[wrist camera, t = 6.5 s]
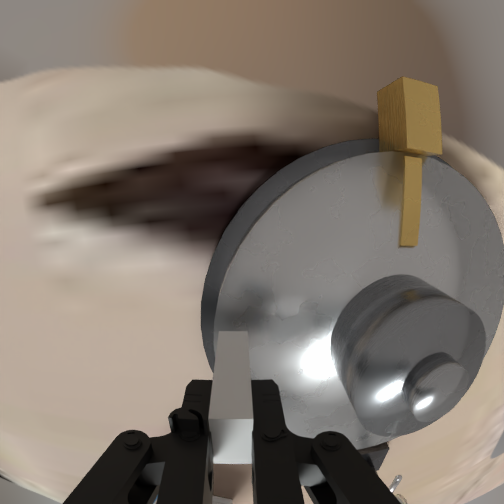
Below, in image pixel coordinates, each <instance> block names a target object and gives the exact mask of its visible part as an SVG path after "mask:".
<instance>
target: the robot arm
mask: <svg viewBox="0 0 504 504" xmlns="http://www.w3.org/2000/svg"><path fill="white" fill-rule="evenodd" d="M168 419H169V424H170V428H171V433H169V434H167V435H164V436H160V437H152V438H149V437H148V436H147V434H145V433H143V432H141V431H138V430H127V431H125V432H122V433H121V434H119V435H118V436H117V437H116V438H115V440H114V441H113V442H112V443H111V445H110V446H109V447H108V448H107V450H106V451H105V452H104V453H103V454H102V456H101V457H100V458H99V459H98V461H97V462H96V463H95V464H94V466H93V467H92V468H91V469H90V471H89V472H88V473H87V474H86V476H85V477H84V478H83V479H82V481H81V482H80V483H79V484H78V485H77V487H76V488H75V489H74V490H73V492H72V493H71V494H70V495H69V497H68V498H67V499H66V500H65V501H64V503H63V504H153V502H154V501H155V499H156V497H157V495H158V497H157V502H156V504H212V497H213V479H214V473H213V462H214V464H252V484H253V502H254V504H304V499H303V494H302V489H301V485H304V487H305V489H306V491H307V493H308V495H309V496H310V498H311V500H312V502H313V503H314V504H401V503H400V502H399V500H398V499H397V498H396V497H395V496H394V495H393V493H392V492H391V491H390V490H389V489H388V487H387V486H386V485H385V484H384V483H383V481H382V480H381V479H380V478H379V476H378V475H377V474H376V473H375V472H374V470H373V469H372V468H371V467H370V465H369V464H368V463H367V462H366V461H365V459H364V458H363V457H362V456H361V454H360V453H359V452H358V451H357V449H356V448H355V447H354V446H353V444H352V443H351V442H350V440H349V439H348V438H347V437H346V436H345V435H343V434H342V433H339V432H336V431H325V432H322V433H320V434H318V435H316V437H315V438H307V437H302V436H298V435H296V434H294V433H292V432H291V431H290V430H289V429H288V428H287V426H286V423H285V418H284V413H283V407H282V402H281V397H280V392H279V387H278V385H277V384H276V383H275V382H274V381H273V379H265V380H251V375H250V360H249V344H248V331H219V334H218V341H217V349H216V357H215V366H214V374H213V380H192V381H191V382H190V383H189V384H188V385H187V387H186V391H185V395H184V400H183V404H182V407H181V408H178V409H175V410H174V411H173V412H171V413H170V415H169V417H168Z"/></svg>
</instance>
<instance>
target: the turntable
mask: <svg viewBox="0 0 504 504" xmlns="http://www.w3.org/2000/svg"><path fill="white" fill-rule="evenodd" d="M377 99H378V118H379V152H378V153H368V154H363V155H359V156H354V157H350V158H347V159H343V160H339V161H336V162H332V163H330V164H328V165H326V166H323V167H321V168H319V169H317V170H314V171H312V172H310V173H309V174H307V175H305V176H304V177H302V178H301V179H299V180H298V181H296V182H294V183H293V184H291V185H290V186H289V187H287V188H286V189H285V190H284V191H283V192H281V193H280V194H279V195H278V196H277V197H276V198H274V199H273V200H272V201H271V202H270V203H269V204H268V205H267V206H266V207H265V209H264V210H263V211H262V212H261V213H260V214H259V215H258V216H257V217H256V218H255V220H254V221H253V222H252V224H251V225H250V227H249V228H248V230H247V231H246V232H245V234H244V235H243V237H242V238H241V240H240V241H239V243H238V245H237V247H236V249H235V251H234V253H233V255H232V257H231V259H230V261H229V263H228V266H227V269H226V272H225V275H224V278H223V281H222V284H221V288H220V293H219V298H218V303H217V309H216V314H215V320H214V352H215V357H216V349H217V341H218V334H219V331H248V344H249V360H250V375H251V380H265V379H273V381H274V382H275V383H276V384H277V385H278V387H279V392H280V397H281V402H282V407H283V413H284V418H285V423H286V426H287V428H288V429H289V430H290V431H291V432H292V433H294V434H296V435H298V436H302V437H307V438H315V437H316V435H318V434H320V433H322V432H325V431H336V432H339V433H342V434H343V435H345V436H346V437H347V438H348V439H349V440H350V442H351V443H352V444H353V446H354V447H355V448H356V449H357V450H358V449H363V448H367V447H371V446H375V445H378V444H381V443H384V442H387V441H390V440H392V439H395V438H397V437H399V436H393V437H386V436H379V435H376V434H373V433H371V432H369V431H367V430H366V429H365V428H364V427H363V426H362V425H361V423H360V422H359V420H358V417H357V415H356V413H355V411H354V409H353V407H352V404H351V402H350V400H349V398H348V396H347V394H346V391H345V389H344V387H343V385H342V383H341V381H340V379H339V377H338V374H337V372H336V370H335V368H334V366H333V364H332V360H331V356H330V340H331V335H332V332H333V329H334V326H335V323H336V321H337V319H338V317H339V316H340V314H341V312H342V311H343V309H344V308H345V307H346V305H347V304H348V303H349V302H350V300H351V299H352V298H353V297H354V296H355V295H356V294H358V293H359V292H360V291H361V290H362V289H364V288H365V287H367V286H368V285H369V284H371V283H373V282H375V281H377V280H379V279H382V278H384V277H388V276H392V275H399V274H404V275H412V276H415V277H418V278H420V279H422V280H424V281H426V282H427V283H429V284H431V285H432V286H434V287H436V288H437V289H439V290H441V291H442V292H444V293H446V294H447V295H449V296H450V297H452V298H454V299H455V300H457V301H459V302H460V303H462V304H463V305H465V306H466V307H468V308H470V309H471V310H473V311H474V312H475V313H476V314H477V315H478V316H479V317H480V319H481V320H482V322H483V325H484V328H485V333H486V346H485V353H484V357H485V355H486V353H487V351H488V349H489V347H490V345H491V343H492V340H493V338H494V336H495V333H496V330H497V327H498V324H499V321H500V318H501V314H502V309H503V305H504V245H503V240H502V236H501V232H500V230H499V227H498V224H497V222H496V219H495V217H494V215H493V213H492V211H491V209H490V207H489V205H488V204H487V202H486V201H485V199H484V198H483V197H482V195H481V194H480V192H479V191H478V190H477V189H476V188H475V187H474V186H473V185H472V184H471V183H470V182H469V181H468V180H467V179H466V178H465V177H464V176H463V175H461V174H460V173H459V172H457V171H456V170H454V169H453V168H451V167H450V166H448V165H446V164H444V163H442V162H439V161H437V160H435V159H433V158H430V157H426V156H432V155H442V132H441V117H440V106H439V95H438V87H437V86H434V85H431V84H428V83H425V82H422V81H418V80H415V79H411V78H407V77H400V78H399V79H397V80H396V81H394V82H392V83H391V84H389V85H387V86H386V87H384V88H382V89H381V90H379V91H378V92H377ZM484 357H483V358H484Z"/></svg>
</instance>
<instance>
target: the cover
mask: <svg viewBox="0 0 504 504" xmlns="http://www.w3.org/2000/svg"><path fill="white" fill-rule="evenodd" d="M485 346H486V333H485V328H484V325H483V322H482V320H481V319H480V317H479V316H478V315H477V314H476V313H475V312H474V311H473V310H471V309H470V308H468V307H466V306H465V305H463V304H462V303H460V302H459V301H457V300H455V299H454V298H452V297H450V296H449V295H447V294H446V293H444V292H442V291H441V290H439V289H437V288H436V287H434V286H432V285H431V284H429V283H427V282H426V281H424V280H422V279H420V278H418V277H415V276H412V275H404V274H399V275H392V276H388V277H384V278H382V279H379V280H377V281H375V282H373V283H371V284H369V285H368V286H367V287H365V288H364V289H362V290H361V291H360V292H359V293H358V294H356V295H355V296H354V297H353V298H352V299H351V300H350V302H349V303H348V304H347V305H346V307H345V308H344V309H343V311H342V312H341V314H340V316H339V317H338V319H337V321H336V323H335V326H334V329H333V332H332V335H331V340H330V356H331V360H332V364H333V366H334V368H335V370H336V372H337V374H338V377H339V379H340V381H341V383H342V385H343V387H344V389H345V391H346V394H347V396H348V398H349V400H350V402H351V404H352V407H353V409H354V411H355V413H356V415H357V417H358V420H359V422H360V423H361V425H362V426H363V427H364V428H365V429H366V430H367V431H369V432H371V433H373V434H376V435H379V436H386V437H393V436H401V435H406V434H409V433H412V432H415V431H418V430H420V429H422V428H424V427H426V426H428V425H430V424H432V423H433V422H435V421H436V420H438V419H439V418H441V417H442V416H443V415H445V414H446V413H448V412H449V411H450V410H451V409H452V408H453V407H454V406H455V405H456V404H457V403H458V402H459V401H460V399H461V398H462V397H463V396H464V394H465V393H466V392H467V390H468V389H469V387H470V386H471V384H472V383H473V381H474V379H475V377H476V375H477V374H478V371H479V369H480V367H481V364H482V361H483V357H484V353H485Z"/></svg>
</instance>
